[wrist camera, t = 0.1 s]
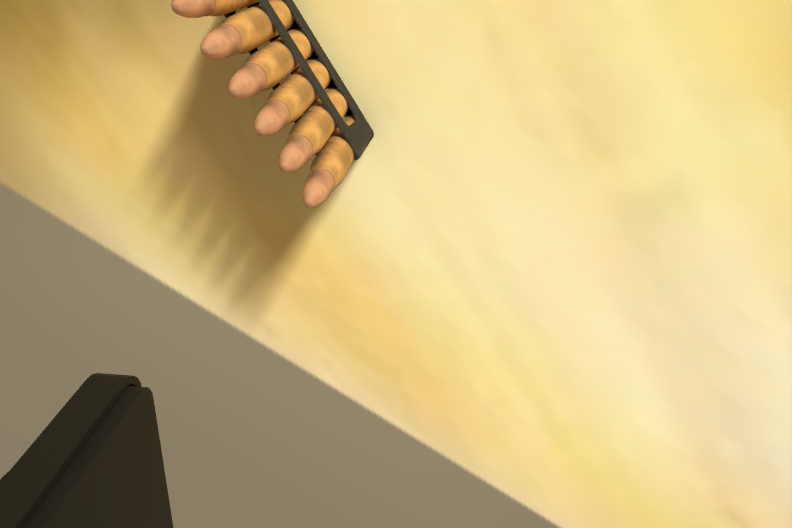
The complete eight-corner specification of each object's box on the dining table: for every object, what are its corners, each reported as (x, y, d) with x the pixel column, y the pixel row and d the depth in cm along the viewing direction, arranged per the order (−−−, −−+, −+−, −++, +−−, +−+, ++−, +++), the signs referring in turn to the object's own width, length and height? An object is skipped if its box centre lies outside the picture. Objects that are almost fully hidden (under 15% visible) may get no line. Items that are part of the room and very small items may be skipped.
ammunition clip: (375, 134, 40) (339, 213, 29) (347, 150, 41) (302, 234, 30) (264, -45, 37) (178, -31, 26) (236, -25, 37) (139, -3, 26)
